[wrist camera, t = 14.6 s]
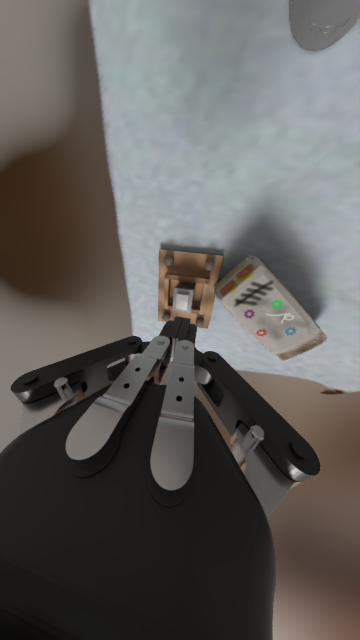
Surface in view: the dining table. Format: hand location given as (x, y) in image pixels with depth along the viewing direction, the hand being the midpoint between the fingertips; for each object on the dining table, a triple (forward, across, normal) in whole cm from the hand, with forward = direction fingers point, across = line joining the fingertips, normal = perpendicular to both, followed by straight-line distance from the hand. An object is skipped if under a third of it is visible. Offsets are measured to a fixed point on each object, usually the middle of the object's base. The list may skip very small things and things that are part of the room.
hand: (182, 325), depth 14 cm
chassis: (+22, +2, +4) cm, 23 cm away
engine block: (+21, +2, +4) cm, 22 cm away
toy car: (+23, -16, +5) cm, 29 cm away
